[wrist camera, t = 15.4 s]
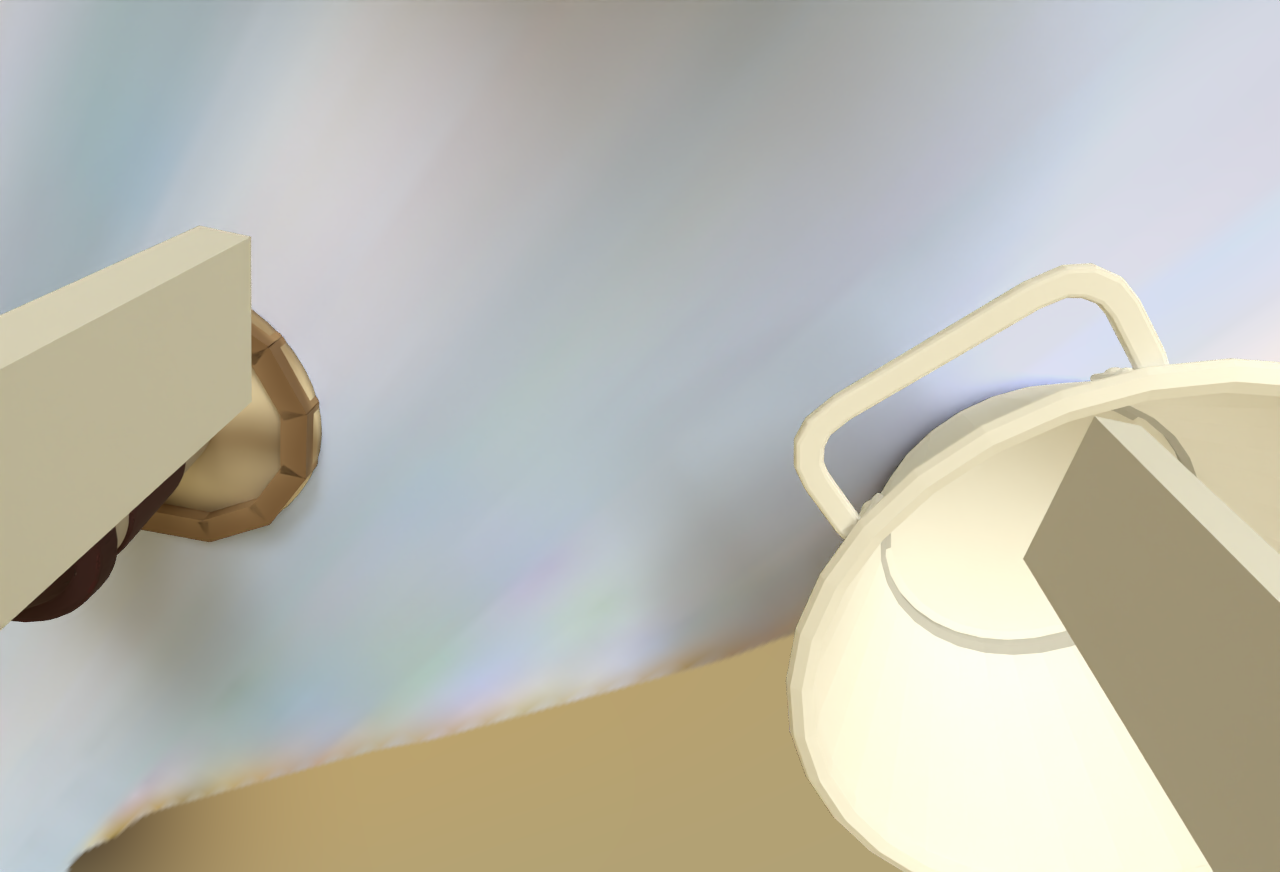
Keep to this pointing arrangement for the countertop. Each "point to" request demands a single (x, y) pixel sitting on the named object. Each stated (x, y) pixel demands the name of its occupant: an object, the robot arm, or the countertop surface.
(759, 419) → the countertop surface
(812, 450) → the pot
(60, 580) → the coffee cup
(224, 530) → the round tray
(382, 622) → the countertop surface
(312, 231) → the countertop surface
